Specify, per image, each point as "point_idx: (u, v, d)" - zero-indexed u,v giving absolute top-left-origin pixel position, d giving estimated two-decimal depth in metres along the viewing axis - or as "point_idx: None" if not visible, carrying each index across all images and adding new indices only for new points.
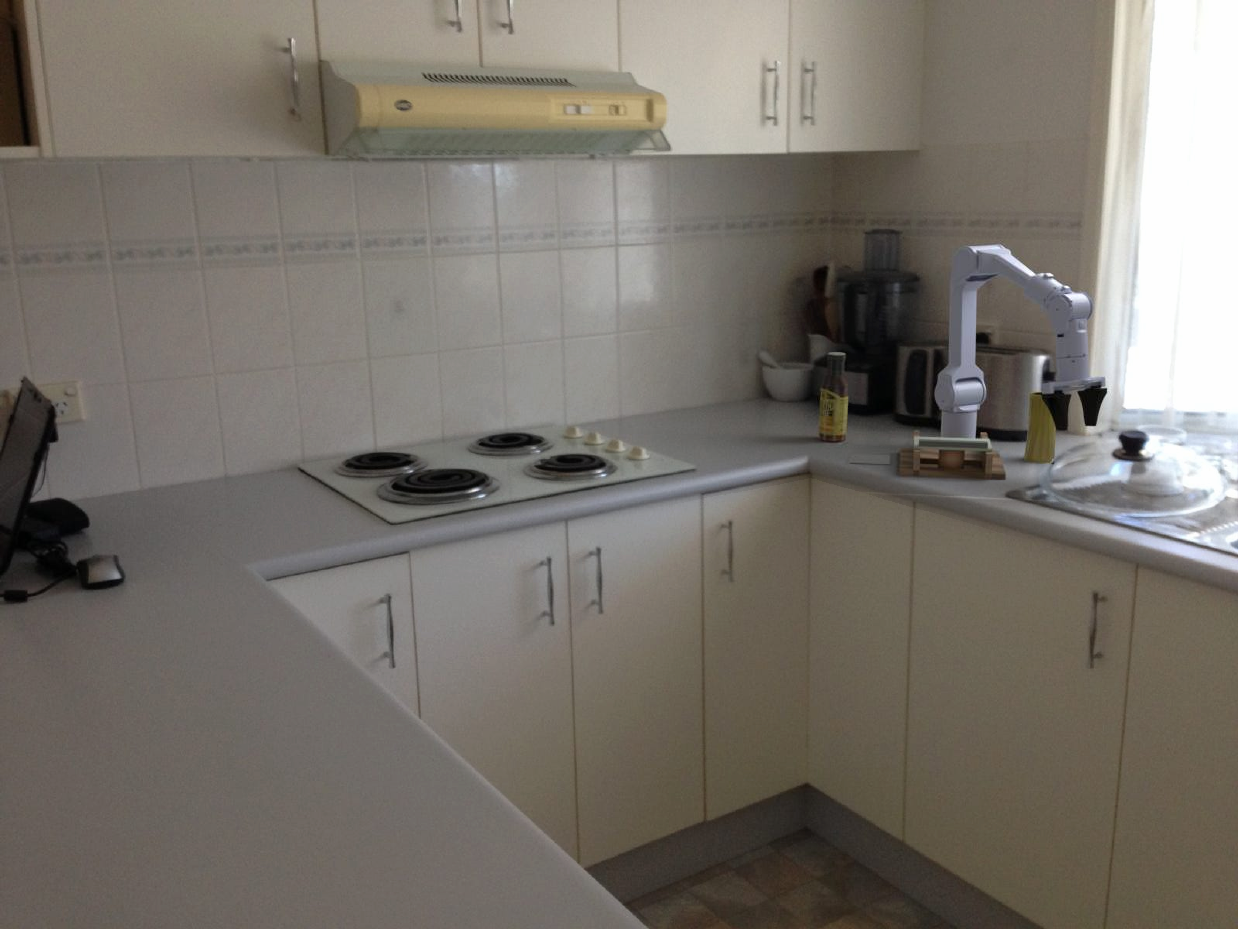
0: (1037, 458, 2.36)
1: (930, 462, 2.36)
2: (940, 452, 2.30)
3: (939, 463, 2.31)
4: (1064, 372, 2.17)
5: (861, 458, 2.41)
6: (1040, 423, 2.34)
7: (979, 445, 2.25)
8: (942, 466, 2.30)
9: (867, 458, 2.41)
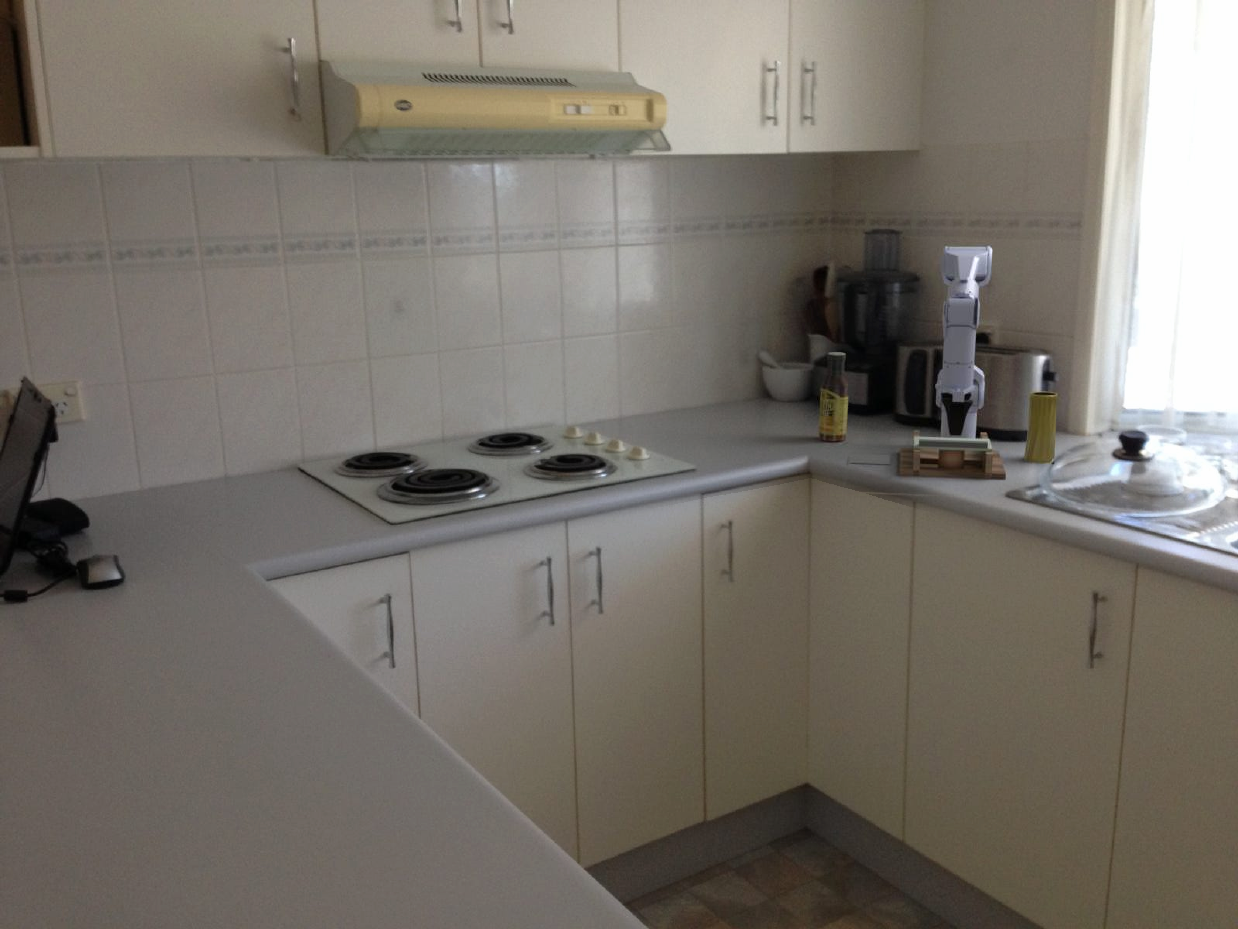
0: (1037, 458, 2.36)
1: (930, 462, 2.36)
2: (940, 452, 2.30)
3: (939, 463, 2.31)
4: None
5: (861, 458, 2.41)
6: (1040, 423, 2.34)
7: (979, 445, 2.25)
8: (942, 466, 2.30)
9: (867, 458, 2.41)
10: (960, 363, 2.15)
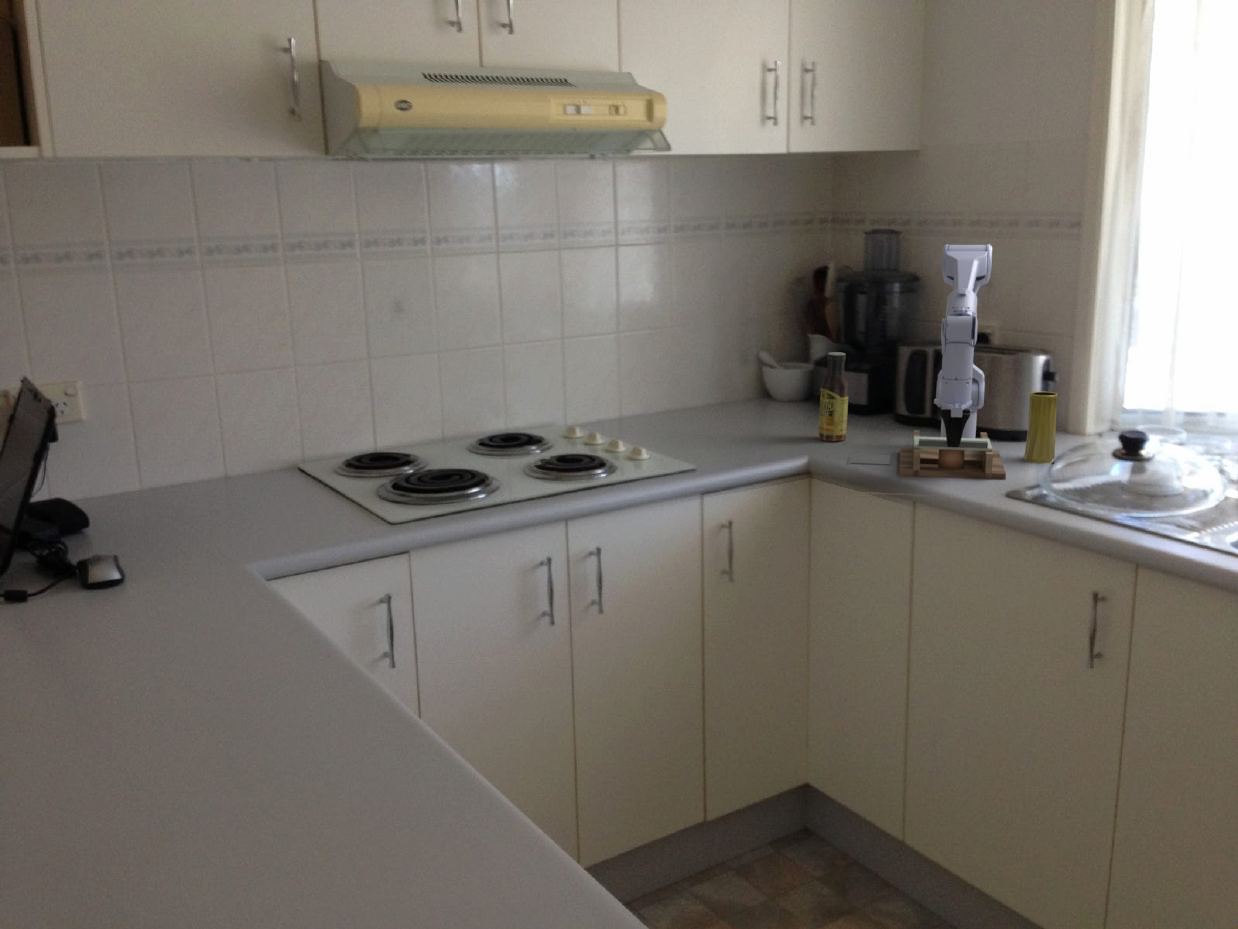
0: (1037, 458, 2.36)
1: (930, 462, 2.36)
2: (940, 452, 2.30)
3: (939, 463, 2.31)
4: None
5: (861, 458, 2.41)
6: (1040, 423, 2.34)
7: (979, 444, 2.25)
8: (942, 466, 2.30)
9: (867, 458, 2.41)
10: (958, 379, 2.19)
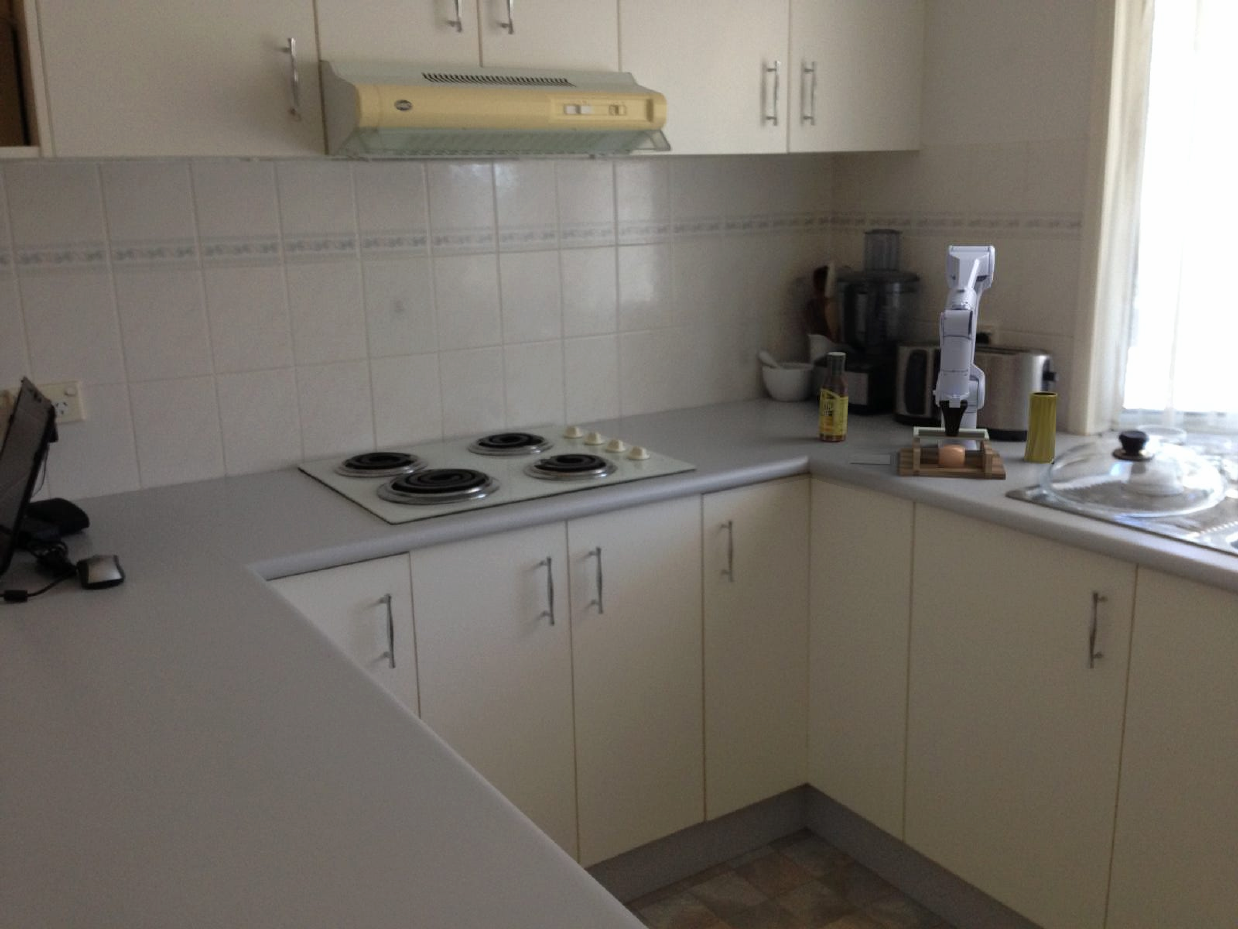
0: (1037, 458, 2.36)
1: (930, 462, 2.36)
2: (940, 452, 2.30)
3: (939, 463, 2.31)
4: None
5: (861, 458, 2.41)
6: (1040, 423, 2.34)
7: (976, 434, 2.34)
8: (942, 466, 2.30)
9: (867, 458, 2.41)
10: (956, 371, 2.28)
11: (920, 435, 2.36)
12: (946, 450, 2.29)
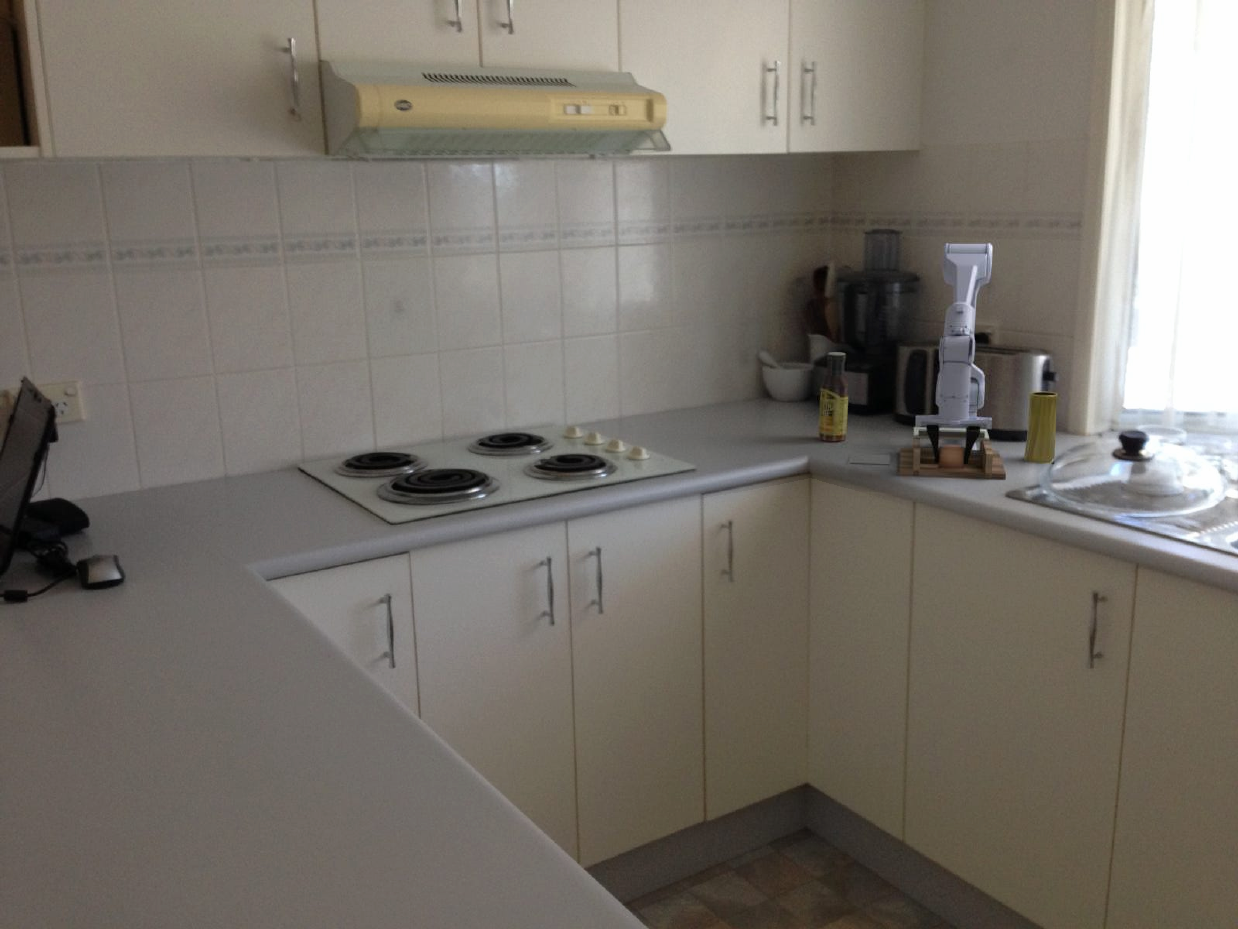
0: (1037, 458, 2.36)
1: (930, 462, 2.36)
2: (940, 452, 2.30)
3: (939, 463, 2.31)
4: (939, 409, 2.29)
5: (861, 458, 2.41)
6: (1040, 423, 2.34)
7: None
8: (942, 466, 2.30)
9: (867, 458, 2.41)
10: None
11: (920, 435, 2.36)
12: (946, 450, 2.29)
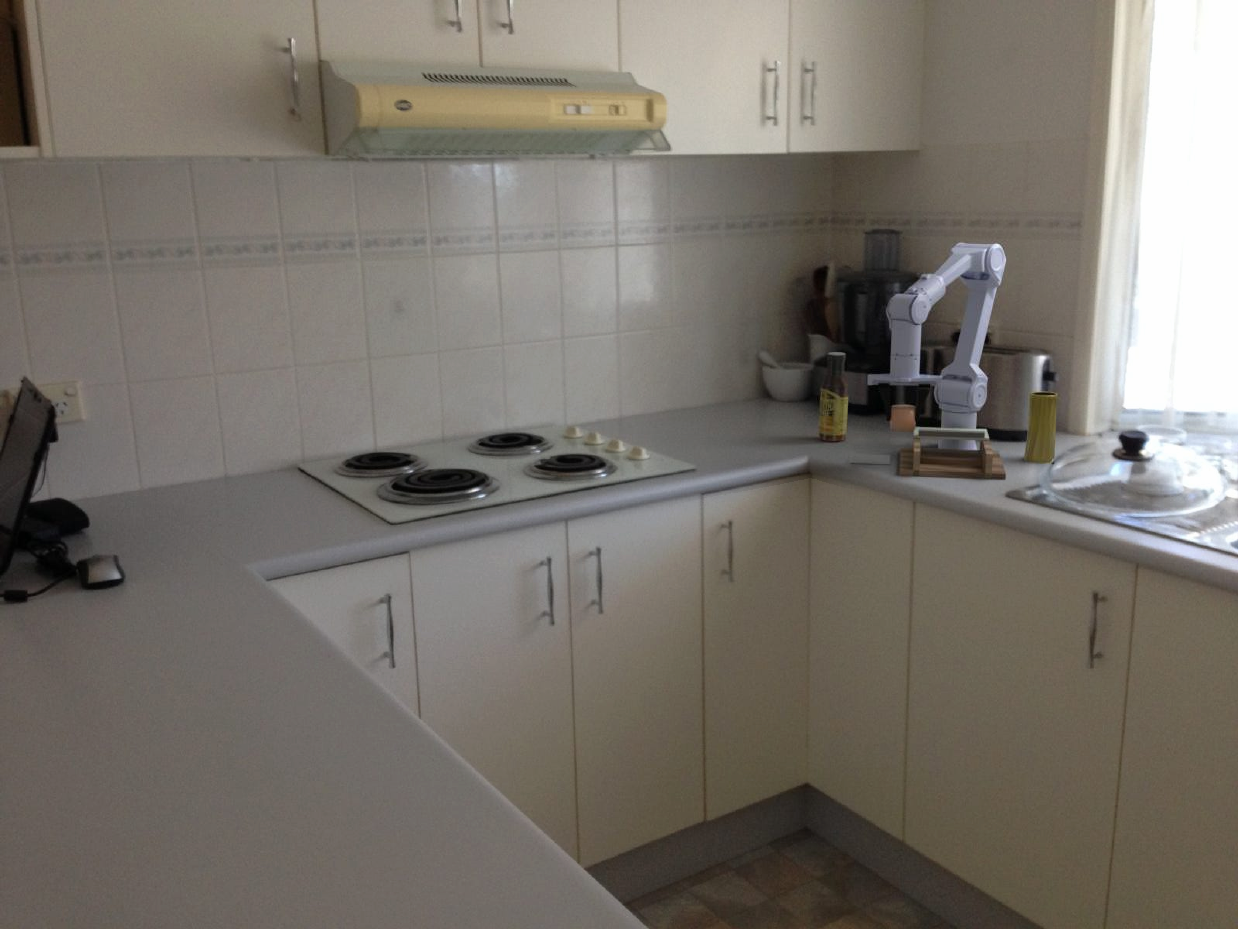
0: (1037, 458, 2.36)
1: (930, 462, 2.36)
2: (892, 412, 2.33)
3: (891, 423, 2.34)
4: (890, 367, 2.32)
5: (861, 458, 2.41)
6: (1040, 423, 2.34)
7: (976, 434, 2.34)
8: (894, 425, 2.33)
9: (867, 458, 2.41)
10: None
11: (920, 435, 2.36)
12: (898, 409, 2.32)
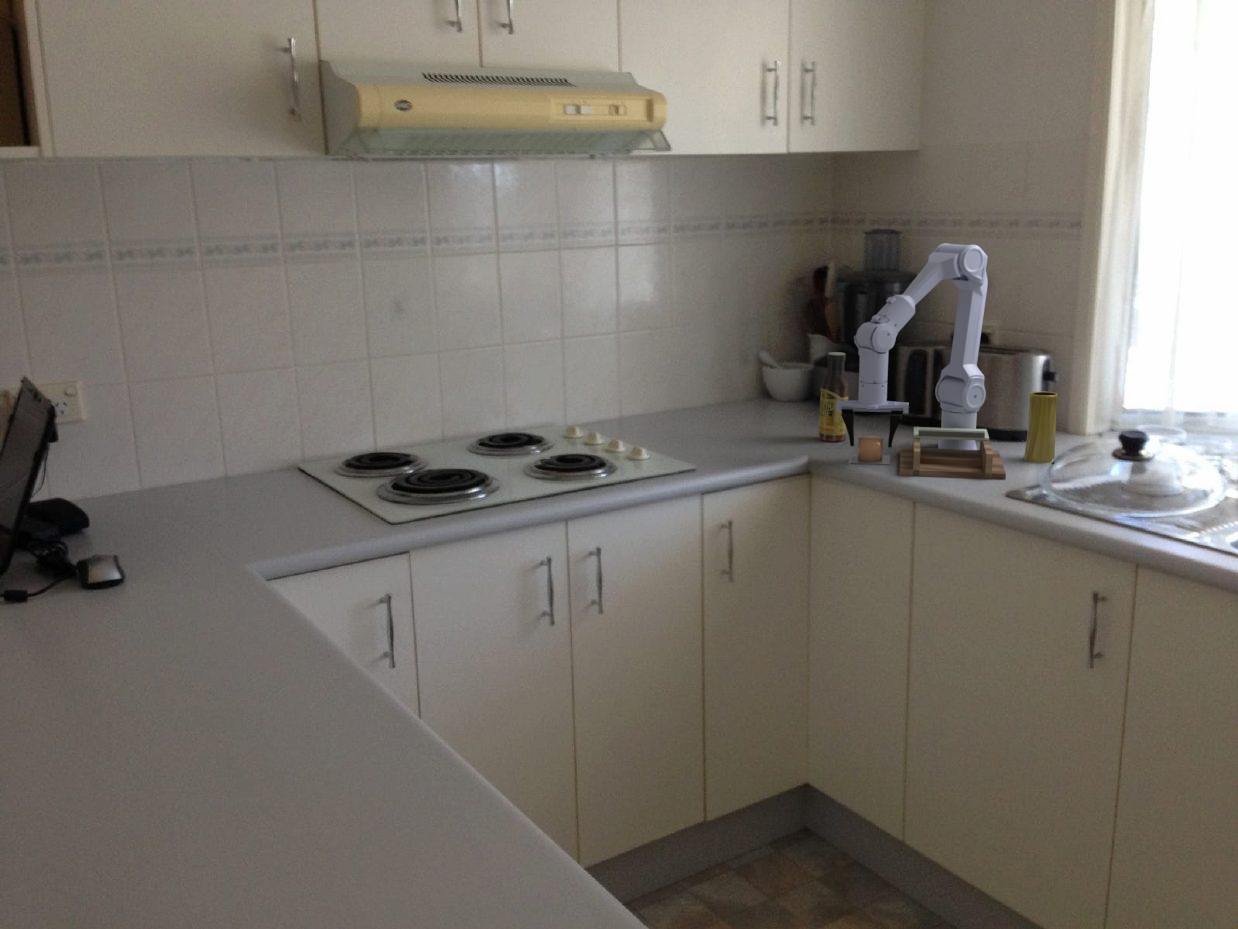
0: (1037, 458, 2.36)
1: (930, 462, 2.36)
2: (860, 443, 2.39)
3: (859, 453, 2.39)
4: None
5: None
6: (1040, 423, 2.34)
7: (976, 434, 2.34)
8: (862, 456, 2.38)
9: None
10: None
11: (920, 435, 2.36)
12: (865, 441, 2.37)
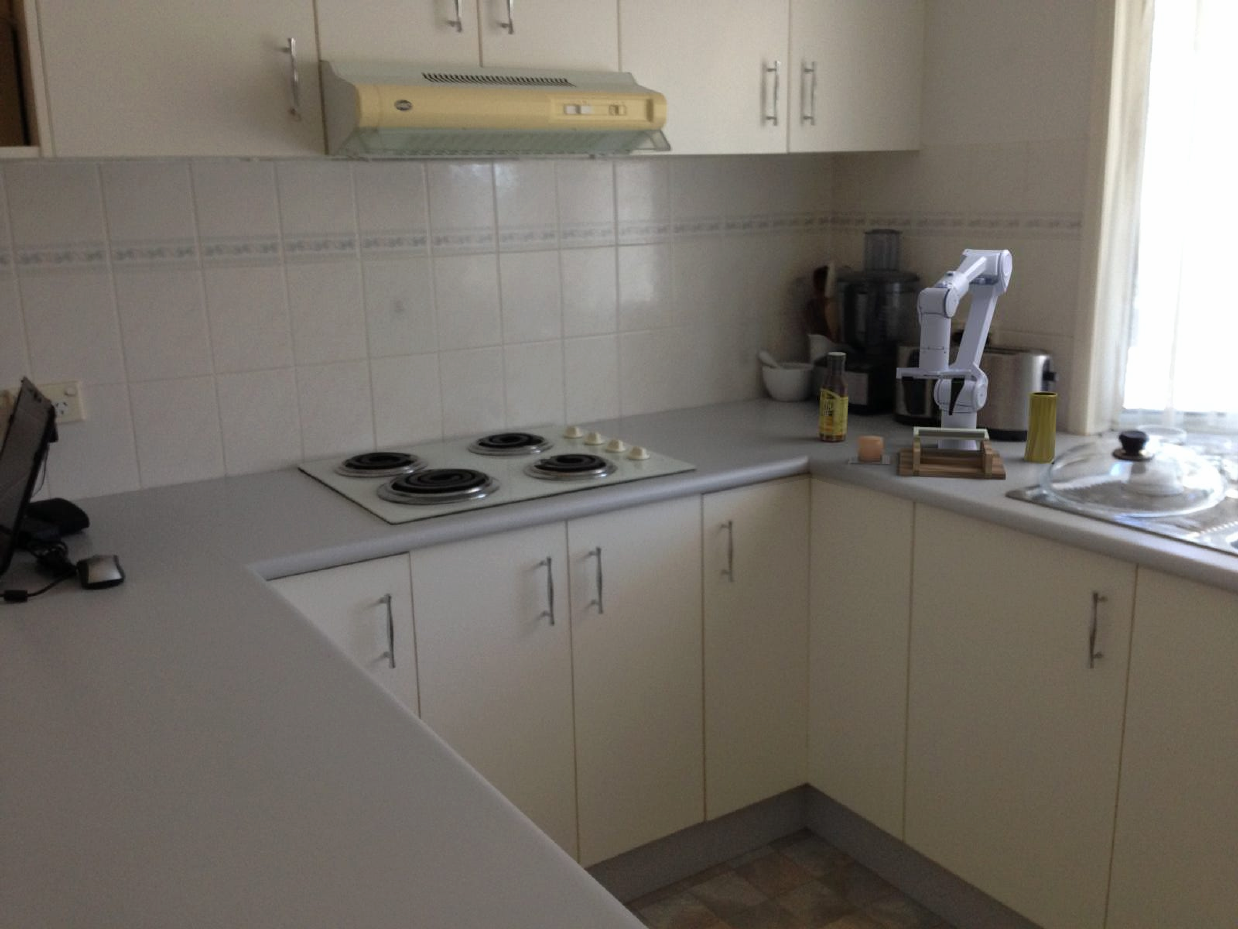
0: (1037, 458, 2.36)
1: (930, 462, 2.36)
2: (860, 443, 2.39)
3: (859, 453, 2.39)
4: (919, 360, 2.34)
5: None
6: (1040, 423, 2.34)
7: (976, 434, 2.34)
8: (862, 456, 2.38)
9: None
10: None
11: (920, 435, 2.36)
12: (865, 441, 2.37)
